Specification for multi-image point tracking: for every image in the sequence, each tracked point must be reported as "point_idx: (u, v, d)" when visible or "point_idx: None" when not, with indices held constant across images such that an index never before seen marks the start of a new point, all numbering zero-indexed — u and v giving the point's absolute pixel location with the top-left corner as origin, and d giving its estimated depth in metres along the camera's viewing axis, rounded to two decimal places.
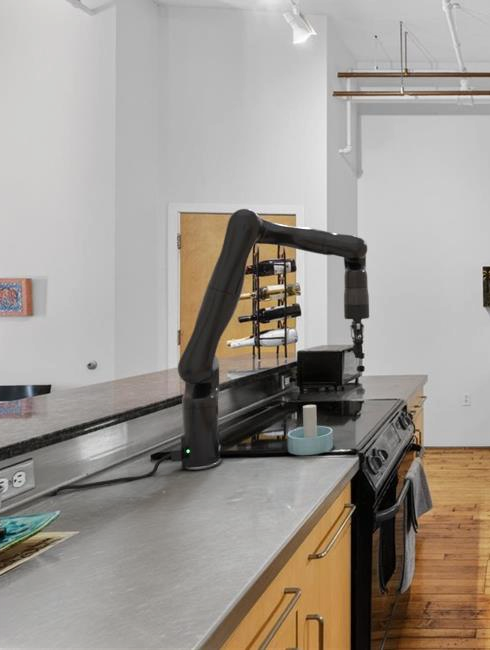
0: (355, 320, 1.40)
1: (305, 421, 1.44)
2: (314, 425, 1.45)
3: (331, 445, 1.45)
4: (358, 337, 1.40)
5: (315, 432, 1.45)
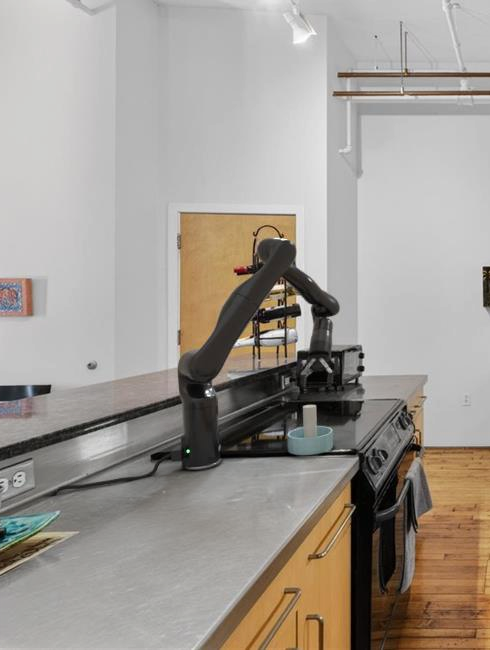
0: (329, 355, 1.62)
1: (305, 421, 1.44)
2: (314, 425, 1.45)
3: (331, 445, 1.45)
4: None
5: (315, 432, 1.45)
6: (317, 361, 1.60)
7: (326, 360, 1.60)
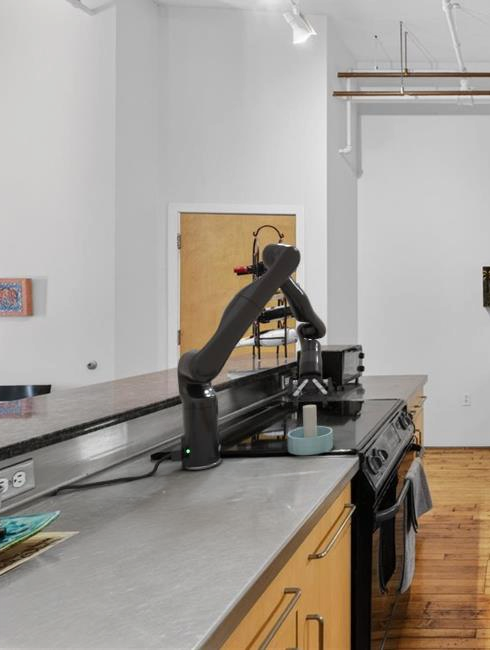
0: (321, 377, 1.59)
1: (305, 421, 1.44)
2: (314, 425, 1.45)
3: (331, 445, 1.45)
4: None
5: (315, 432, 1.45)
6: (309, 382, 1.56)
7: (319, 381, 1.57)
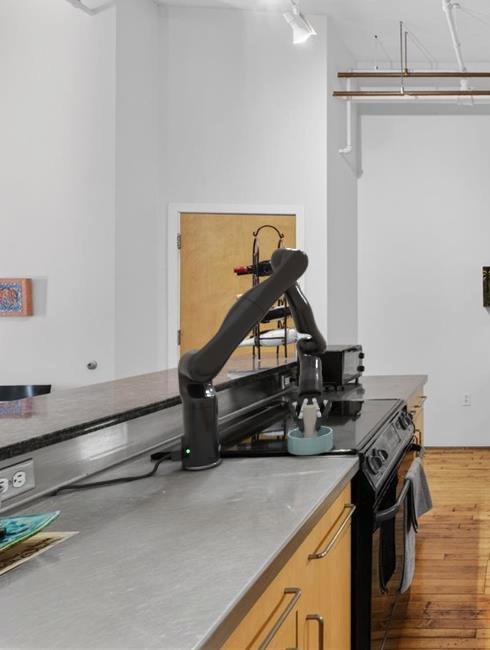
0: None
1: (305, 421, 1.44)
2: (314, 425, 1.45)
3: (331, 445, 1.45)
4: None
5: (315, 432, 1.45)
6: (309, 401, 1.50)
7: (318, 400, 1.51)
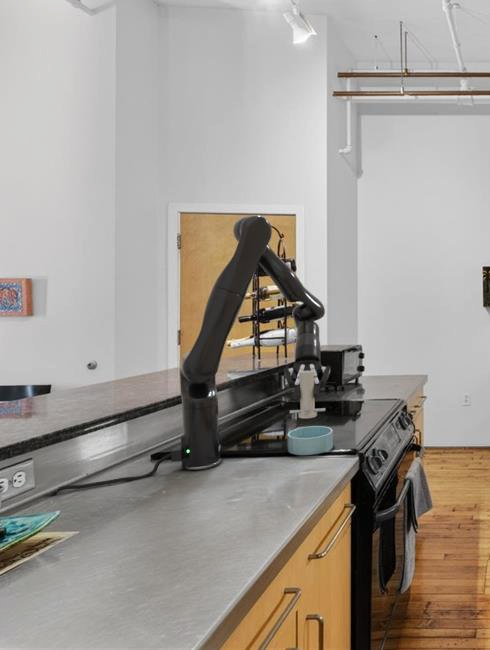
0: None
1: (302, 387, 1.34)
2: (311, 392, 1.35)
3: (331, 445, 1.45)
4: None
5: (312, 399, 1.35)
6: (306, 368, 1.40)
7: (316, 366, 1.41)
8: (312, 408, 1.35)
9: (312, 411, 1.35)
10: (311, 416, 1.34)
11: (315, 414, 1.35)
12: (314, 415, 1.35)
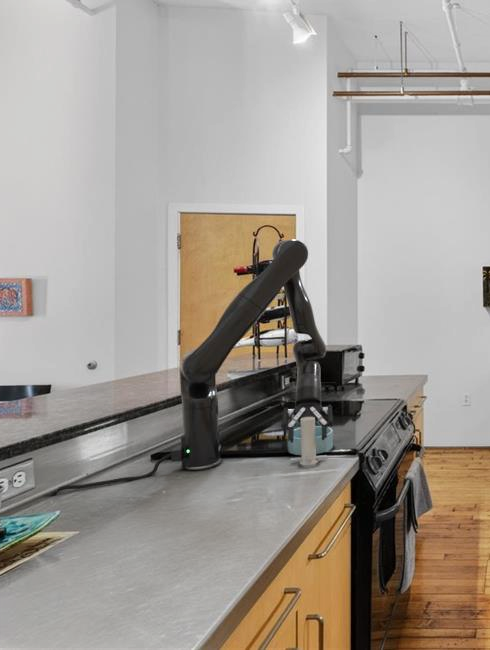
0: (320, 404, 1.40)
1: (303, 435, 1.31)
2: (313, 439, 1.32)
3: (331, 445, 1.45)
4: None
5: (314, 447, 1.33)
6: (307, 410, 1.37)
7: (318, 409, 1.38)
8: (313, 456, 1.32)
9: (313, 459, 1.32)
10: (312, 464, 1.31)
11: (316, 462, 1.33)
12: (315, 463, 1.32)
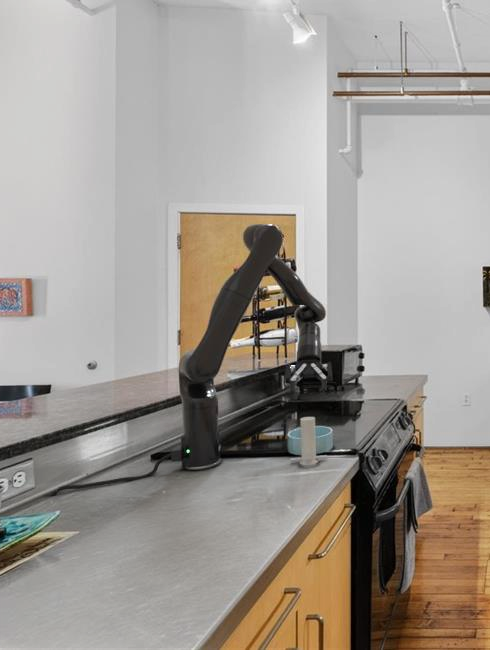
0: (320, 361, 1.50)
1: (303, 435, 1.31)
2: (313, 439, 1.32)
3: (331, 445, 1.45)
4: None
5: (314, 447, 1.33)
6: (308, 367, 1.47)
7: (318, 366, 1.48)
8: (313, 456, 1.32)
9: (313, 459, 1.32)
10: (312, 464, 1.31)
11: (316, 462, 1.33)
12: (315, 463, 1.32)
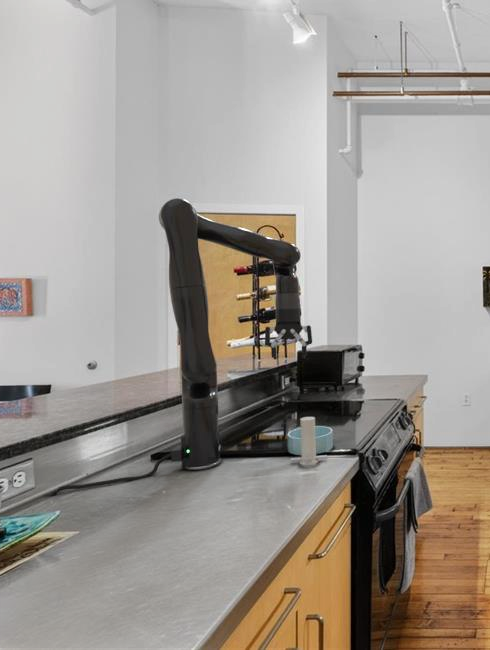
0: (300, 323, 1.49)
1: (303, 435, 1.31)
2: (313, 439, 1.32)
3: (331, 445, 1.45)
4: None
5: (314, 447, 1.33)
6: (287, 331, 1.48)
7: (297, 330, 1.48)
8: (313, 456, 1.32)
9: (313, 459, 1.32)
10: (312, 464, 1.31)
11: (316, 462, 1.33)
12: (315, 463, 1.32)
